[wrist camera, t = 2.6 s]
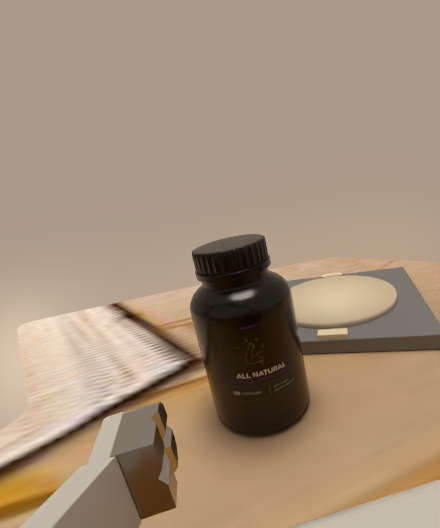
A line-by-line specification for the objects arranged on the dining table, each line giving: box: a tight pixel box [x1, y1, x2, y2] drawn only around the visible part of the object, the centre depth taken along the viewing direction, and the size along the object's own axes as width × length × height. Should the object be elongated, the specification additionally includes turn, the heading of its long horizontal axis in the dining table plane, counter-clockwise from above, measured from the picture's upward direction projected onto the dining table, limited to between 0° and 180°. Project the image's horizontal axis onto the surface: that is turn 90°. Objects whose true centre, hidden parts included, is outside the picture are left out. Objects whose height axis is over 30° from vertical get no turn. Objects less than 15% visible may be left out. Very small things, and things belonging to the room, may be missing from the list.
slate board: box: [287, 267, 440, 354], centre depth 34 cm, size 16×16×2 cm
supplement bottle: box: [190, 234, 309, 434], centre depth 22 cm, size 7×7×12 cm
